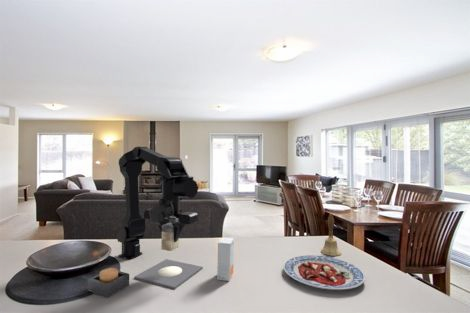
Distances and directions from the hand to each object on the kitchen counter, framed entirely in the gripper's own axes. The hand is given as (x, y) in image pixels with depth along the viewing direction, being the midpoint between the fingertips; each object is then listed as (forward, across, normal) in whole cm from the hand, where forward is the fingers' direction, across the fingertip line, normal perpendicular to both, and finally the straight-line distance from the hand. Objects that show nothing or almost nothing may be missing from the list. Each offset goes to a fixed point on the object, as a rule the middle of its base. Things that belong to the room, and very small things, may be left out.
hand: (170, 240), depth 89 cm
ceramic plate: (+11, +47, +21) cm, 53 cm away
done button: (+9, -10, -16) cm, 21 cm away
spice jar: (+2, 0, 0) cm, 3 cm away
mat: (+11, 0, 0) cm, 11 cm away
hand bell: (+11, +48, +45) cm, 67 cm away
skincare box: (+11, +18, +6) cm, 22 cm away
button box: (+11, -10, -16) cm, 22 cm away
